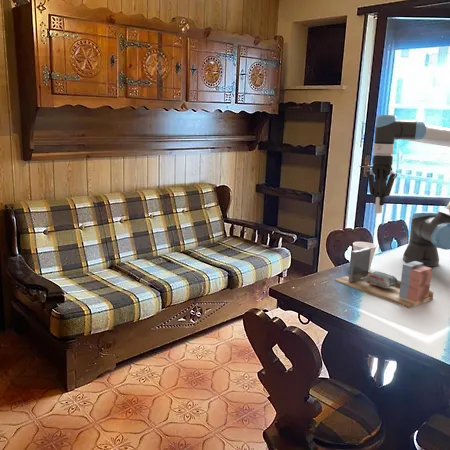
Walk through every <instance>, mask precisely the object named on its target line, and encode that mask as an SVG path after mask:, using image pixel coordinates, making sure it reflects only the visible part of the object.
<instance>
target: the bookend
mask: <svg viewBox="0 0 450 450" xmlns="http://www.w3.org/2000/svg"><path fill="white" fill-rule="evenodd" d="M370 251H371V249H369V248H365V249H360V250H356V251H354V250H351V253H350V261H349V272H348V276H349V282H356V281H359V280H361V278H364V277H366V276H367V275H368V271H370V269H369V260H370Z"/></svg>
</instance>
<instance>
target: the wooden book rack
mask: <svg viewBox="0 0 450 450" xmlns="http://www.w3.org/2000/svg"><path fill="white" fill-rule="evenodd" d="M423 264H424V263H421V262H418V261H413V262H409V263H407V262H405V263H403V264H402V271H401V278H400V280H399V279H397V280H398V281H399V282H400V284H397V285H395V286H392V287H389V288H381V287H377V286H374V285H371V284H368V283H367V282H366V281H364V280H359V281H356V282H349V275H346V276H342V277H339V278H335V281H336V282H339V283H341V284H342V285H346V286H348V287H350V288H353V289H356V290H357V291H360V292H363V293H365V294H369V295H372V296H374V297H378V298H380V299H383V300H385V301H389V302H391V303H395V304H396V305H400V306H403V307H406V308H408V309H411V308H414V307H416V306H419V305H422V304H424V303H426V302H430V301H432V300H433V299H434V291H433V290H430V288H431V282H432V281H431V280H432V273H433V267H430V266H423ZM372 272H373V271H370V270H368V275H369V274H370V273H372Z"/></svg>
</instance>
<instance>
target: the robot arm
mask: <svg viewBox="0 0 450 450" xmlns="http://www.w3.org/2000/svg"><path fill="white" fill-rule="evenodd" d="M395 140H396V141H397V140H402V141H409V142H417V143H420V144H421V143H423V144H429V145H437V146H442V147H449V148H450V128H448V127H444V126H436V125H429V124H426V122H425V121H423V120H418V119H416V120H414V119H410V120H408V119H407V120H406V119H405V120H400V119H398V120H397V115H396V114H379V115H377V116H376V120H375V126H374V141H373V154H374V155H372V167H371V169H370V170H367V171H366V172H365V173H366V175H367V179H368V187H369V193H370V195H372V196H373V204H374V214H382V213H383V212H382V211H383V206H385V198H386V197H390V195H391V191H392V189H393V186H394V181H395V179H396V178H397V176H398V173H397V172H396V173H395V172H394V171H393V167H392V166H393V159H394V156H393V154H394V149H395V148H394V146H395ZM410 220H411V221H410V222H411V225H410V233H409V240H408V241H409V242H408V244H407V246H406V248H405V250H404V253H403V255H402V260H403V261H404V262H405V263H409V262H413V261H418V262H421V263H424V264H423V266H426V267H436V266H439V264H440V256H439V250H438V249H441V250H446V251H448V250H450V201H449V202H448V204H447V205H446V207H445V208H444V209H441V210H439V211H438V212H437V211H414V212H413V213H412V215H411V219H410Z"/></svg>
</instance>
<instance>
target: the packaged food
mask: <svg viewBox="0 0 450 450" xmlns="http://www.w3.org/2000/svg"><path fill="white" fill-rule="evenodd" d="M371 272H372V273H370V274H369V275H367V276H366V277H364V278H361V280H364V281H366V282H367V283H368V284H371V285H374V286H377V287H381V288H389V287H392V286H395V285H397V284H400V282H399V281H400V280H399V279H397V278H396V276H394V275H391V274H387V273H385V272H383V271H377V270H376V271H371ZM398 280H399V281H398Z"/></svg>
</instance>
